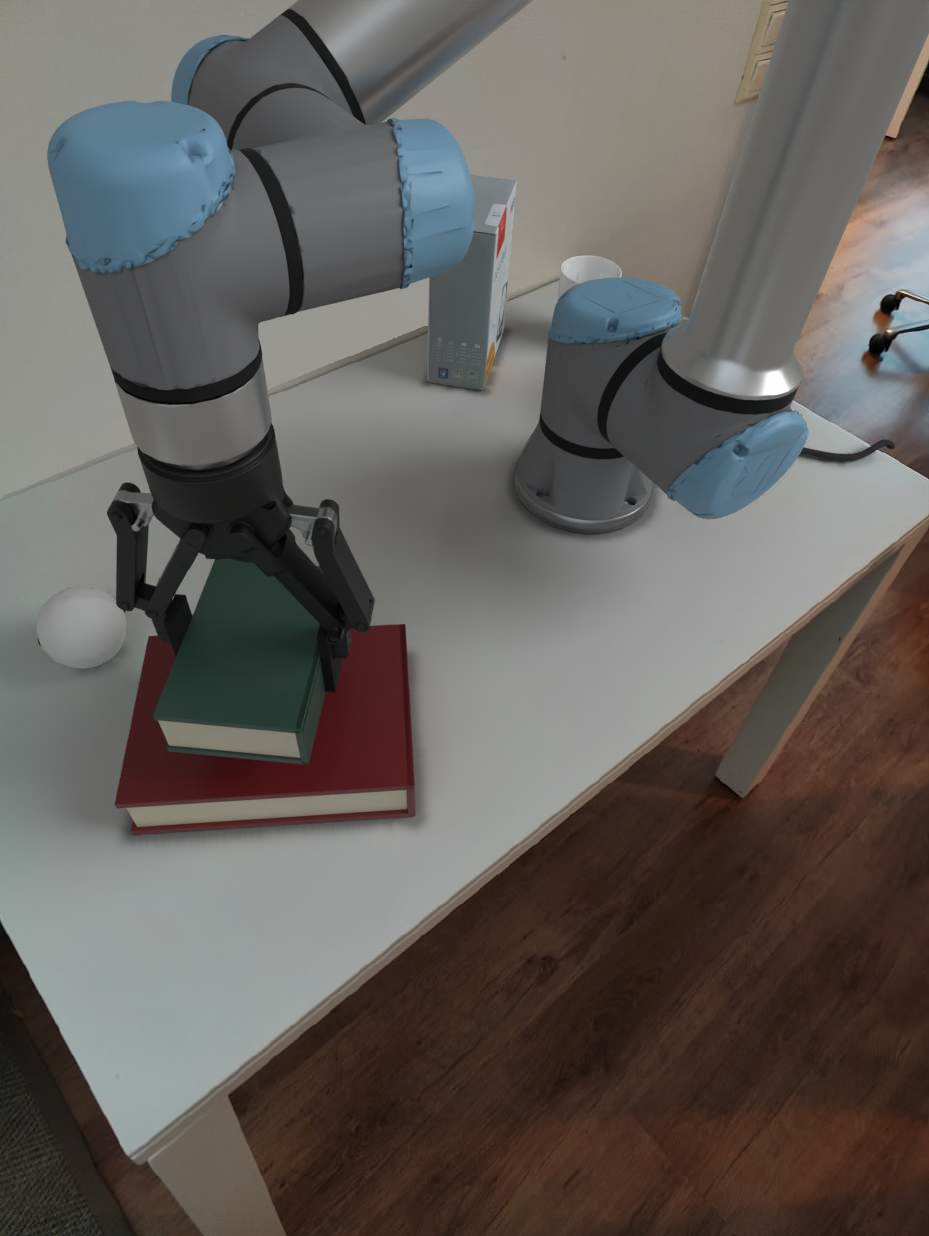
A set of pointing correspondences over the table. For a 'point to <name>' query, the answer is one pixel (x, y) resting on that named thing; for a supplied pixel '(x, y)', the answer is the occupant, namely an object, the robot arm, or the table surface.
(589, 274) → the white cup
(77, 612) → the white smooth round ovoid
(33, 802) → the table surface
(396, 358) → the table surface
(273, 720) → the small book
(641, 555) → the table surface
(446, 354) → the hard drive box
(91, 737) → the table surface
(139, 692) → the big book
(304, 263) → the robot arm
